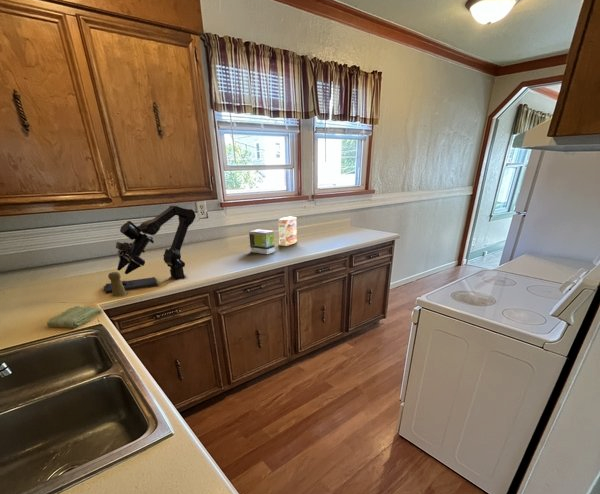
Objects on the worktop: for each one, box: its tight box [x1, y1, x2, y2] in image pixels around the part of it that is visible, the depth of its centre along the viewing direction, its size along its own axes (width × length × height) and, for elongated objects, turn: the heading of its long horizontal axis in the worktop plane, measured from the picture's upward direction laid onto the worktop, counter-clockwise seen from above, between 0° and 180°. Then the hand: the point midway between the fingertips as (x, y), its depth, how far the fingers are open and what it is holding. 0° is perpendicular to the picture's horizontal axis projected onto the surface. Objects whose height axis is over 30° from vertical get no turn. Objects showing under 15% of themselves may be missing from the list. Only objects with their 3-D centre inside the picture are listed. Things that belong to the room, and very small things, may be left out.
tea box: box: [248, 229, 276, 255], centre depth 230 cm, size 15×10×15 cm, turn 58°
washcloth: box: [46, 305, 103, 329], centre depth 134 cm, size 13×18×3 cm
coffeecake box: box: [278, 216, 298, 247], centre depth 251 cm, size 15×7×20 cm, turn 147°
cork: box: [108, 271, 127, 298], centre depth 158 cm, size 6×6×11 cm
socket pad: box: [103, 276, 158, 294], centre depth 170 cm, size 25×14×2 cm, turn 117°
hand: (121, 271), depth 158 cm, fingers open, 9 cm apart
